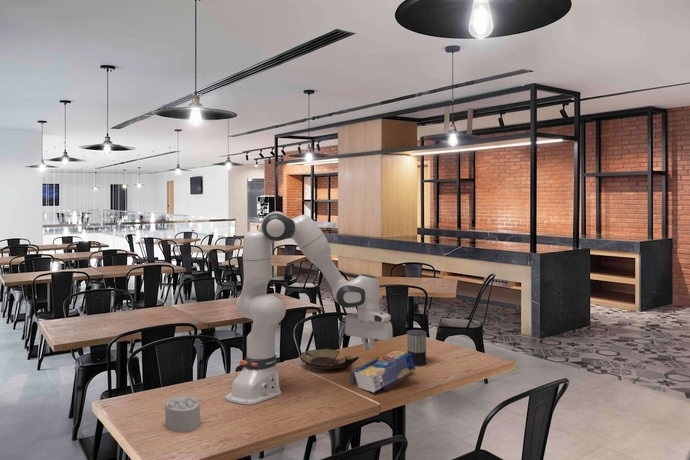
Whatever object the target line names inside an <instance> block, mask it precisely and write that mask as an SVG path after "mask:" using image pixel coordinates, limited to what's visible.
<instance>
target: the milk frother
mask: <svg viewBox="0 0 690 460" xmlns="http://www.w3.org/2000/svg"><path fill="white" fill-rule="evenodd" d="M427 333H428V332H427V331H425V330H423V329H422V330H421V329H410V330H407V331H406V334H407V342H406V343H407V353H410V354H412V358H413V362H414V366H415V367H422V366H426V365H427V364H428V362H427Z"/></svg>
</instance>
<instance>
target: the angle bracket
mask: <svg viewBox="0 0 690 460" xmlns="http://www.w3.org/2000/svg"><path fill="white" fill-rule="evenodd" d="M379 358H381V357H378V356H376V357H374V358H372V359H371V360H369V361H367V362H365V363H363V364H361V365H360V366H358V367H356V368H354V369H352V370H350V371H349V385H355V384H357V380H356V377H355V373H354V371H356V370H358V369H360V368H362V367H364V366H366V365H368V364H370V363H372V362H373V361H375V360H377V359H379ZM412 374H413V371H412V372H410V373H408V374H407V375H405V376H403V377H401V378H399V379H398V380H396V381H394V382H392V383H391V384H389V385H387V386H385V387H384V388H383V390H384V391H389V390H390V389H392V388H393V387H395V386H396V385H398V384H399V383H400V382H401V381H403V380H405V379H406V378H407V377H409V376H410V375H412Z"/></svg>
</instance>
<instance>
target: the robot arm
mask: <svg viewBox="0 0 690 460" xmlns="http://www.w3.org/2000/svg"><path fill="white" fill-rule="evenodd" d="M287 239H292V240H293V241H294V243H295V244H296V245H297V247H298V248H299V250H300V252H301V253H302V254H303V256H305V258H306V259H307V260H308V261H309V262H310V263H311V264H313V265H315V266H316V267H317V268H318V269H319V270H320V272H321V273H322V275H323V277H324V278H325V280H326V282H327V283H328V285H329V288H330V294H331V296H332V297H331V298H332V299H333V301H334V302H336V303H337V304H338V306H340V307H343V308H344V309H345V308H346V309H349V308H355V307H357V313H355V312H354V313H353V312H349V313H348V314H346V315H345V325H344V334H345V335H346V336H350V337H355V338H361V342H362V344H363V350H364V349H365V350H370V351H371V350H372V349H373V345H374V343H375V341H376V340H378V341H385V342H389V341H391V340H392V339H393V332H394V331H393V324H392V322H391V321H390V320H391V314H390V313H387V312H385V311H383V310H380V303H379V301H380V283H379V282H380V281H379V279H378V277H376V276H373V275H371V274H364V273H363V274H360V275H358V276H356V278H354V279H352V280H350V281H349V280H347V279H346V277H344V276H343V275H342V274H341V272H340V271H339V269H338V268H337V266H336V264H335V263H334V261H333V259H332V255H331V253H332V249H331V246H330V244H329V241H328V239H327V236H326V235H325V234H324V231H322V229H321V228H320V226H318V224H317V223H316V222H315V220H313V219H312V218H311V217H310V215H307V214H301V215H297V216H296V217H293V218H291V217H288V216H287V214H286V213H284V212H282V211H276V210H275V211H272V212H269V213H267V214H266V215H265V216H264V218H263V220H262V223H261V225H260V228H259V229H254V230H250V231H248V232H247V233H245V235H244V236H243V241H242V268H243V269H242V270H243V284H242V289H241V293H240V294H239V296H238V297H237V299H236V302H235V306H236V310H237V312H239V314H240V315H241V316H243V317H244V318H247V319H250V320H252V322H253V323H252V328H251V331H250V332H249V333H248V335H247V336H246V355H245V359H244V360H243V359H240V360H239V365H240V366H243V368H242V369H241V371H240V372H239V373H238V375H237V376H236V377H235V379H233V381H232V383H231V385H232V386H231V392H229V393H228V394H226V395H225V400H226V401H228V402H231V403H234V404H240V405H249V406H250V405H252V406H253V405H256V404H258V403H261V402H264V401H267V400H270V399H272V398H275V397H278V396H282V390H281V389H280V382H279V373H278V371H277V368H276V366H277V355H276V335H277V329H278V326H279V323H280V322H281V321H282V320H283V319H284V317H285V316H286V312H287V307H286V304H285V302H284V301H283V300H282V299H280V298H278V297H277V296H275V295H272V294H267V293H268V292H267V290H268V284H269V282H270V281H271V280H272V278H273V265H272V264H273V263H272V261H273V260H272V244H273V242H281V241H284V240H287ZM367 339H369V343H368V342H367Z"/></svg>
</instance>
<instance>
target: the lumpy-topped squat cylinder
mask: <svg viewBox="0 0 690 460" xmlns="http://www.w3.org/2000/svg"><path fill="white" fill-rule="evenodd" d="M199 401H200V400H198V398H197V396H189V395H182V396H175V397H172V398H171V399H169V400H167V401H166V402H165V403H164V406H165V407H164V408H165V409H164V414H165V420H164V421H165V427H166V428H167V429H168V430H170V431H172V432H176V433H188V432H193V431H195V430H197V429H198V428H199V427H200V426H201V407H200V406H201V403H200V402H199Z"/></svg>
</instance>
